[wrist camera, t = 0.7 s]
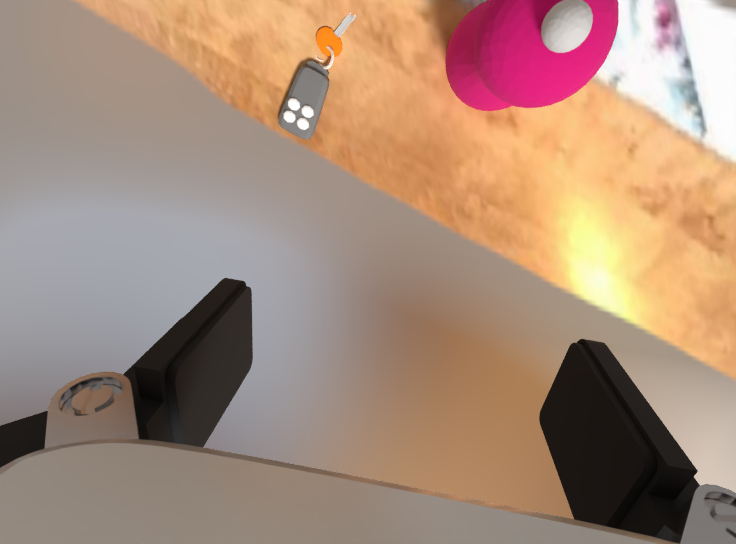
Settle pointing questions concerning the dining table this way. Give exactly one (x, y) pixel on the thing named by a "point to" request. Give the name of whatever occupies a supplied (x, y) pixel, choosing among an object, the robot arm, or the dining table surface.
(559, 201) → the dining table surface
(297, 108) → the key chain
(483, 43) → the pepper mill
